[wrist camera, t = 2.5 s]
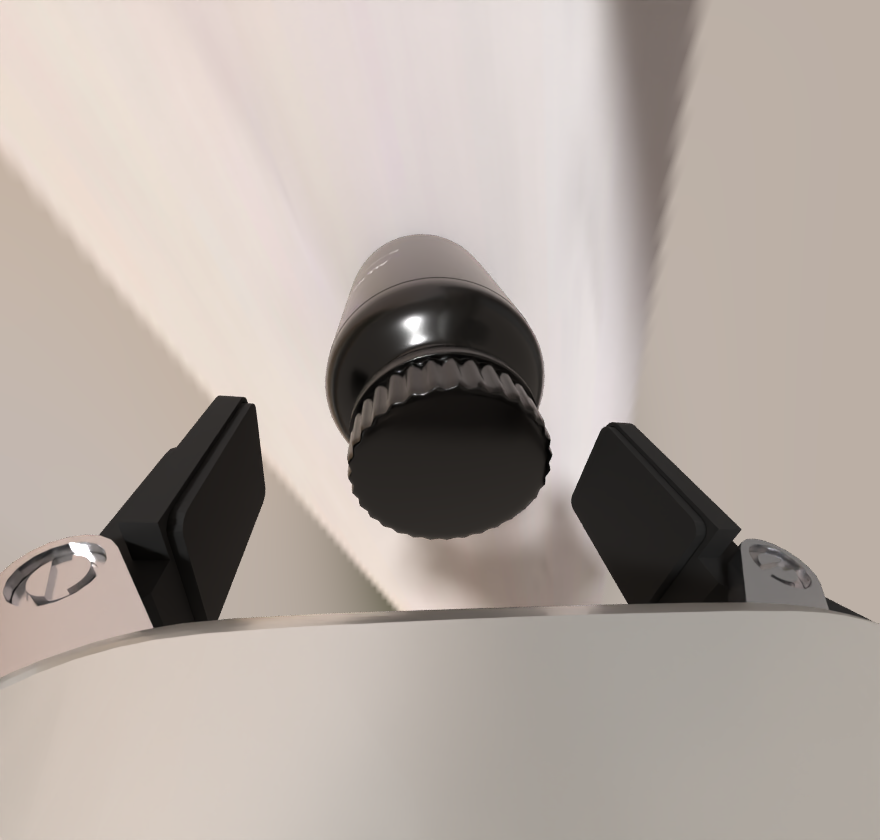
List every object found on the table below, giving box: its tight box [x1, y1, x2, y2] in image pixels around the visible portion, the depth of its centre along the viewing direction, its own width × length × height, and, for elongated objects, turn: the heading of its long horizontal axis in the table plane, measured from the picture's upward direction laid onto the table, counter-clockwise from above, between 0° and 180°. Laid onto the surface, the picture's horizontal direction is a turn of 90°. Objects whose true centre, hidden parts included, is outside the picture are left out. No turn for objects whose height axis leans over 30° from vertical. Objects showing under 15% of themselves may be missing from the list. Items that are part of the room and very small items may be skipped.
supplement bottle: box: [325, 234, 552, 540], centre depth 14 cm, size 7×7×12 cm
